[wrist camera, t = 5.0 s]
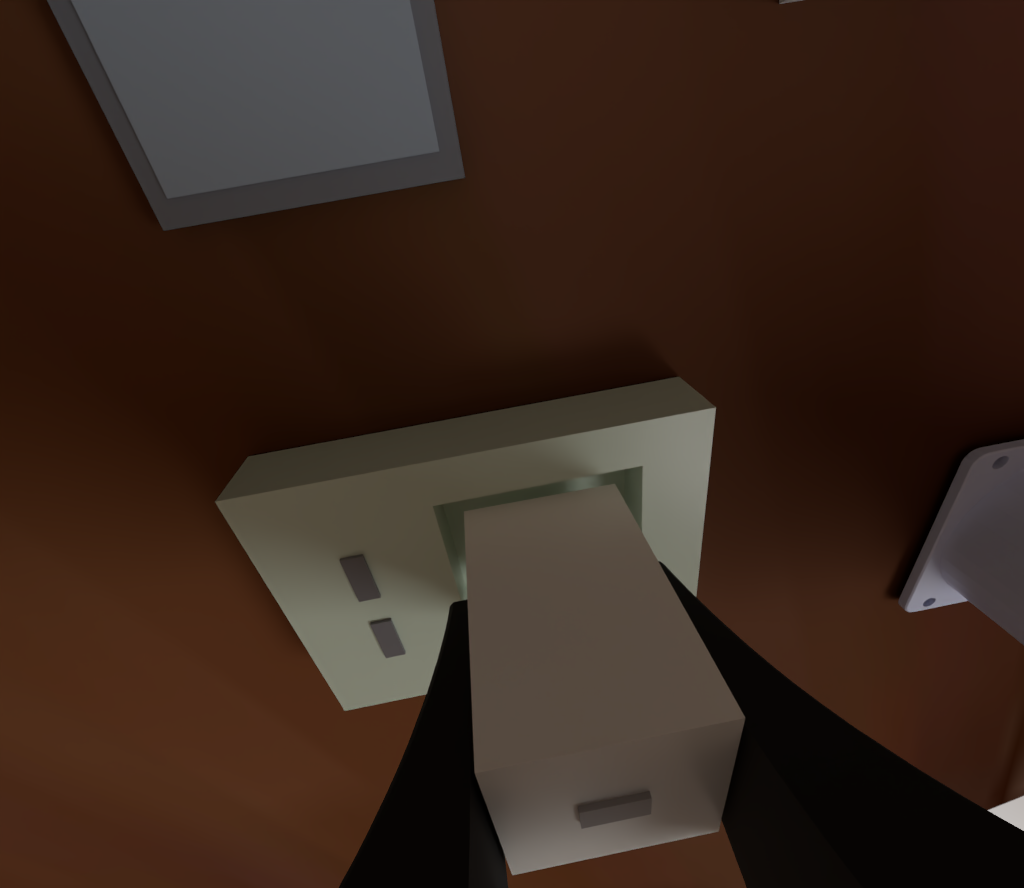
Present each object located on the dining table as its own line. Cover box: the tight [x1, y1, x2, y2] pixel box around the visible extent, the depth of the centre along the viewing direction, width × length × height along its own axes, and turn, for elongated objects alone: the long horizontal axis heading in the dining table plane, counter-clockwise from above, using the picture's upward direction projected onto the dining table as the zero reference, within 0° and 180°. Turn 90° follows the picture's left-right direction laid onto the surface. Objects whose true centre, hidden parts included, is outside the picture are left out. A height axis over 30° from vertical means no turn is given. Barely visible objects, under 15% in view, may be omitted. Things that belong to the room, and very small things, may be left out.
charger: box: [464, 484, 745, 875], centre depth 10 cm, size 4×4×6 cm
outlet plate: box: [215, 377, 716, 711], centre depth 14 cm, size 12×9×2 cm
